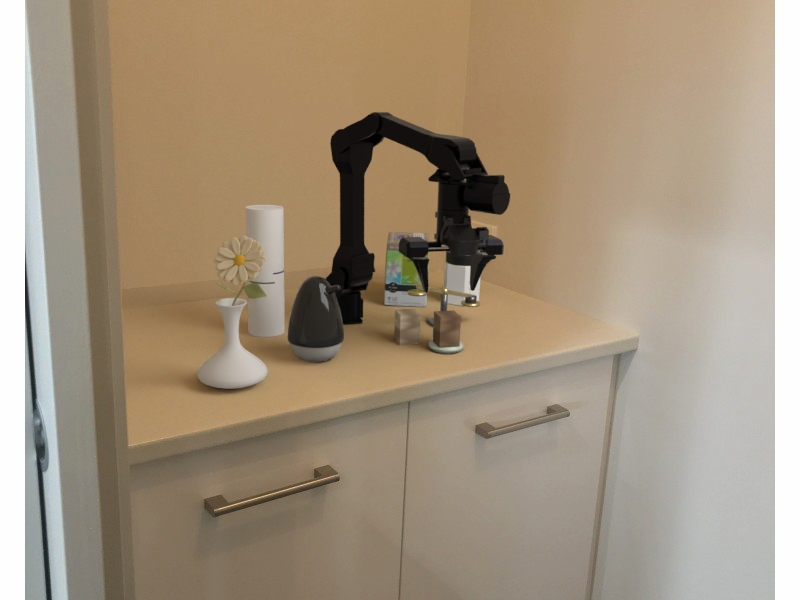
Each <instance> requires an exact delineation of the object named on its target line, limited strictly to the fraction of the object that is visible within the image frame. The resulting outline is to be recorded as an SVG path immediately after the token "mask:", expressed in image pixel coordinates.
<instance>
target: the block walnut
mask: <svg viewBox="0 0 800 600" xmlns="http://www.w3.org/2000/svg"><path fill="white" fill-rule="evenodd" d="M433 318H434V323H433V327H432V328H433V329H432V340H433V342H434V343H435V344H436V345H437V346H438V347H439V348H446V347H459V346H460V342H461V327H462V325H461V324H462V316H461V315H460V314H459V313H458V312H457V311H455V310H447V311H440V310H438V311H436V310H435V311H434V312H433Z"/></svg>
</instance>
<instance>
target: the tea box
mask: <svg viewBox="0 0 800 600" xmlns="http://www.w3.org/2000/svg"><path fill="white" fill-rule="evenodd" d="M402 237H421V238H423V239H424V240H426V241H427V242H429V241H430V235H429V233H425V232H424V233H423V232H403V231H402V232H400V231H389V232H388V235H387V242H386V250H385V251H386V252H385V272H384V274H385V275H384V298H383V299H384V300H383V301H384V303H383V304H384V305H385V306H394V307H395V306H396V307H417V308H418V307H420V308H421V307H426V306H427V299H428V298H427V297H428V294H427V295H426V296H410V295H408V290H412V289H417V288H416V285H417V284H418V285H422V284H421V281H420V278H419V275H418V272H417V270H416V267H415V265H414V263H413V261H411V260H410V259H409V258H407V257H405V256H404V255H403V254H401V253H400V252H399V242H400V240H401V239H402ZM426 257H427V258H428V259H429V260H430V252H428V254H427V255H426ZM429 268H430V262H429V263H428V270H429Z"/></svg>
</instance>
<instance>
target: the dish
mask: <svg viewBox="0 0 800 600" xmlns="http://www.w3.org/2000/svg"><path fill="white" fill-rule="evenodd" d="M428 348H429V349H430V350H431V351H433V352H435V353H438V354H444V355H445V354H447V355H449V354H450V355H451V354H457V353H459V352H461V351H462V350H463V349H464V343H463V342H462V341H460V346H459V347H446V348H439V347H438V346H437V345H436V344H435V343H434V342H433V339H431V340H429V341H428Z"/></svg>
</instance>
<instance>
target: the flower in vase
mask: <svg viewBox="0 0 800 600" xmlns="http://www.w3.org/2000/svg"><path fill="white" fill-rule="evenodd" d="M262 248H263V246H262V245H261V244H259V242H258V241H255V240H252V238H248V237H246V235H243V234H242V235H241V236H238V237H236V236H233V237H232V238H231V239H229V241H228V240H225V241H224V242H223V243H222V245H221V247H218V248H217V254H216V255H214V260H213V263H214V265H216V266H215V270H216V271H218V272H216V275H217V277H219V278H220V279H222V280H224V282H229V283H230V284H231V285H234V286H237V285H242V286H241V288H240V290H239V291H238V293H236V292H235V291H234V290H233V289H232V288H231V287H228V286H227V285H224V284H223V283H220V282H219V281H217V279H216V278H215V282H216V284H217V285H218V286H220V287H221V288H223V289H225V290H227V291H229V292H230V293H232V294H234V295H236V296H235V297H226V298H220V299H217V300H216V301H215V302H214V304H215V306H217V308H218V310H219V311H220V314H221V316H222V320H223V326H224V327H223V328H224V342H223V345H222V347H221V348H220V349H219V350H217V352H216V353H214V354H212V355H211V356H210V357H209V358H207V359H206V360H205V361H204V362H203V364H201V366H199V369H198V371H197V378H198V380H199V381H200V382H201V383H202V384H204V385H207V386H210V387H213V388H219V389H225V390H229V389H242V388H247V387H251V386H253V385H256V384H258V383H260V382H262V381H264V379H266V378H267V375H268V373H269V370H268V368H267V366H266V364H265V363H264V362H263V361H262V360H261V359H260V358H259V357H257V356H256V355H254V354H253V353H252V352H251V351H248V350H247V349H246V348H244V346H243V345H242V343H241V341H240V333H239V332H240V318H241V314H242V312H243V309H244V308H245V306H246V305H247V304H248V300H246V299H244V298H239V296H241V293H242V292H243V291H244V293H245V295H246V296H247V298H248V297H249V298H251V299H255V298H261V297H265V296H267V295H266V294H265V292H264V291H263V289H262V288H261V287H260V286H259V285H258V284H257V283H251V284H248V285H247V281H251V280H252V279H255V278H256V276H258V274H259V273H258V271H260V270H262V266H263V265H264V262H265V261H266V258H265V257H263V255H264V251H263V250H262Z"/></svg>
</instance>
